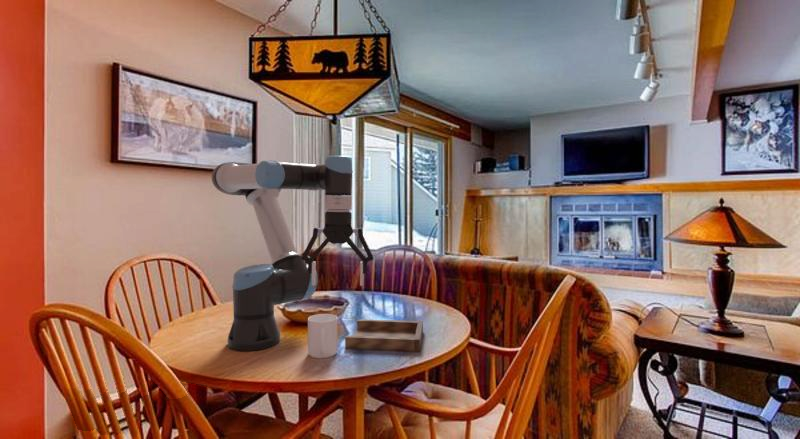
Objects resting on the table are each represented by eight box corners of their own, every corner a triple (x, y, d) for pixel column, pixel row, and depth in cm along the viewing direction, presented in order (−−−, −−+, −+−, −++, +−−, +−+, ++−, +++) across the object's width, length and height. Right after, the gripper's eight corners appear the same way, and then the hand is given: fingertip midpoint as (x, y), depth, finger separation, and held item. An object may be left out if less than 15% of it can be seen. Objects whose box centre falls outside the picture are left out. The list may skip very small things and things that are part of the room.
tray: (345, 348, 118) (345, 337, 118) (358, 329, 136) (358, 319, 136) (419, 351, 116) (419, 339, 115) (422, 331, 134) (422, 321, 133)
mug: (338, 363, 107) (337, 325, 107) (306, 365, 106) (306, 326, 105) (337, 347, 119) (337, 313, 119) (308, 349, 118) (308, 314, 117)
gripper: (291, 210, 109) (291, 287, 110) (382, 212, 111) (381, 287, 112) (296, 209, 117) (295, 281, 118) (381, 211, 118) (380, 281, 120)
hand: (337, 284), depth 115 cm, fingers open, 13 cm apart
